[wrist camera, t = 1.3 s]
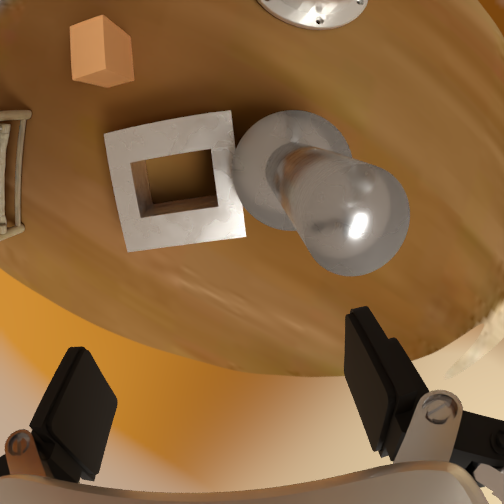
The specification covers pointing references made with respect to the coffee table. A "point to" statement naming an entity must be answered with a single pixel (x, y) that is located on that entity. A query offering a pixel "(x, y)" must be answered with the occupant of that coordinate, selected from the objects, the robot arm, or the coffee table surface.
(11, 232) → the swing bench
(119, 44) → the orange rectangular block
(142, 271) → the coffee table surface
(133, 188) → the bracket head
